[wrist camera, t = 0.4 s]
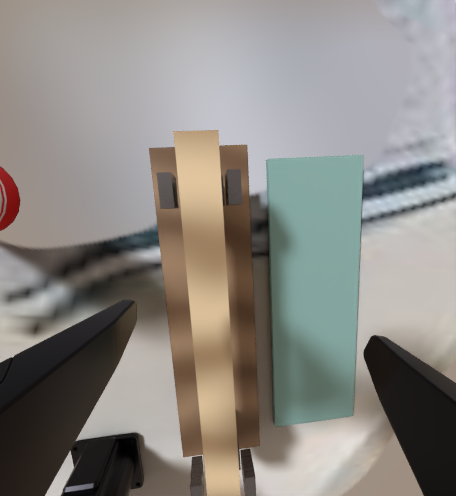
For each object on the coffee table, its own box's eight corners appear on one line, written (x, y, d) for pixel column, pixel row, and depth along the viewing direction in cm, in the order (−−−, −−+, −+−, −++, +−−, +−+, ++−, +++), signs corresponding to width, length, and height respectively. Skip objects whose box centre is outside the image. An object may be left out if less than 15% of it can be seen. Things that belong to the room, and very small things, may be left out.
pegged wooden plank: (243, 423, 23) (256, 498, 17) (196, 430, 22) (192, 508, 16) (230, 182, 19) (240, 168, 13) (172, 185, 18) (156, 172, 12)
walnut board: (256, 431, 25) (259, 445, 23) (184, 442, 24) (183, 457, 23) (244, 149, 20) (247, 144, 18) (153, 153, 19) (149, 148, 18)
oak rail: (238, 489, 19) (242, 529, 17) (210, 494, 19) (210, 534, 16) (216, 143, 14) (218, 130, 12) (179, 145, 14) (173, 131, 12)
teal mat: (349, 411, 25) (353, 416, 25) (273, 421, 25) (275, 427, 24) (359, 156, 21) (363, 155, 20) (266, 160, 20) (268, 159, 20)
